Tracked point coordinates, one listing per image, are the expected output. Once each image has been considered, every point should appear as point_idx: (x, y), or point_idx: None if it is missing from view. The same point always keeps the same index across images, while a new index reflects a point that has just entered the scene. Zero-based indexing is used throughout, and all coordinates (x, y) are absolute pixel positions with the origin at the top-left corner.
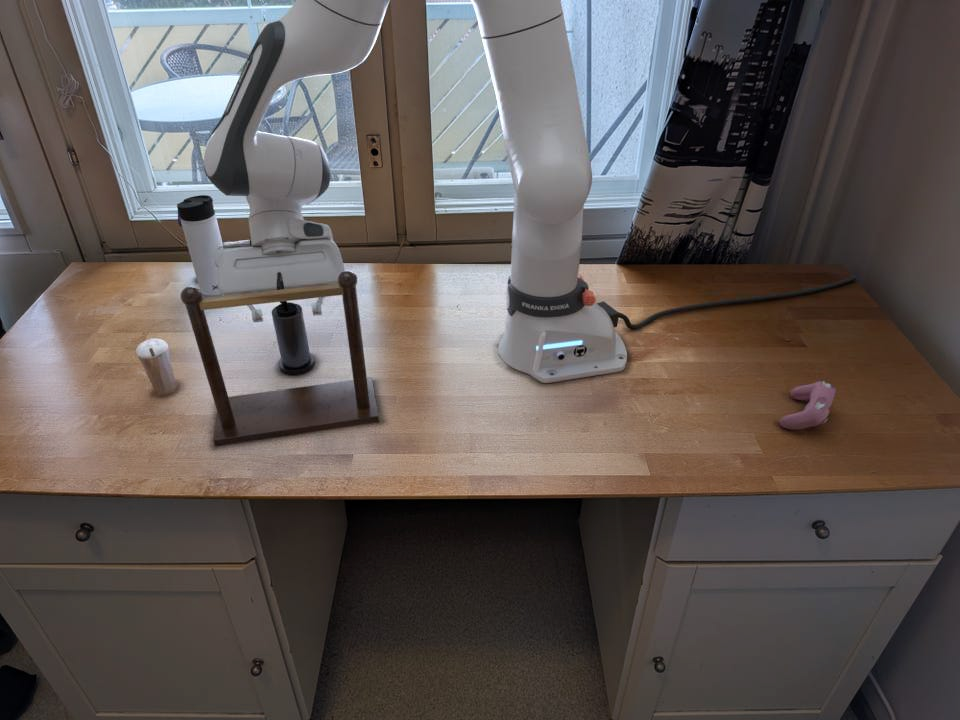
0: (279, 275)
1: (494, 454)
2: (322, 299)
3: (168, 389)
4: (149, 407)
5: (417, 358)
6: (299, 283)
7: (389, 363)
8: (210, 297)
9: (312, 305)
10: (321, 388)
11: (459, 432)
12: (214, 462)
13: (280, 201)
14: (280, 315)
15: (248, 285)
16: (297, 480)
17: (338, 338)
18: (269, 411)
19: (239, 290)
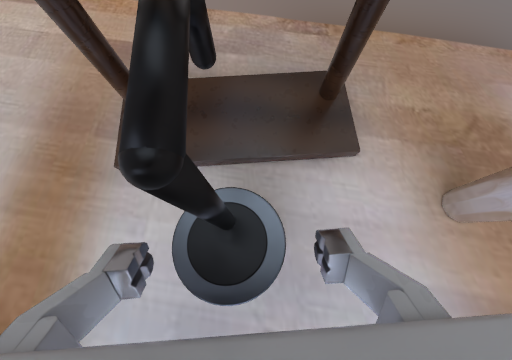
0: (139, 66)
1: (18, 26)
2: (70, 285)
3: (454, 189)
4: (461, 164)
5: (23, 231)
6: (106, 356)
7: (78, 223)
8: None
9: (128, 263)
10: (198, 150)
11: (39, 60)
12: (330, 55)
13: None
14: (250, 207)
15: (457, 354)
16: (235, 22)
17: (157, 338)
18: (276, 110)
19: (490, 320)
